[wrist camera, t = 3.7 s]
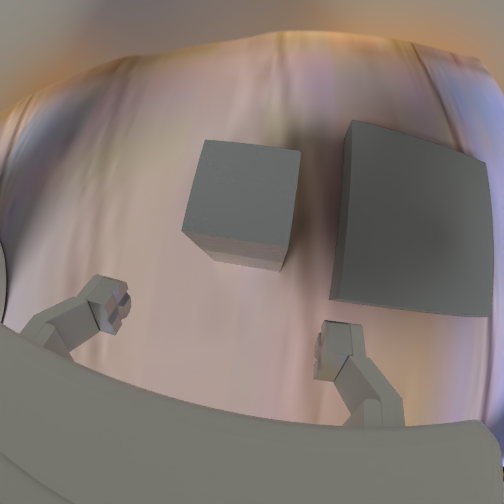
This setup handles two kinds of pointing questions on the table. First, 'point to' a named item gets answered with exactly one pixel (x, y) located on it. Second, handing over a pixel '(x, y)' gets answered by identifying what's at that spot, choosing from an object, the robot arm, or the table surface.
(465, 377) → the table surface
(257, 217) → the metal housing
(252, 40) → the table surface
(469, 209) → the charcoal stand
